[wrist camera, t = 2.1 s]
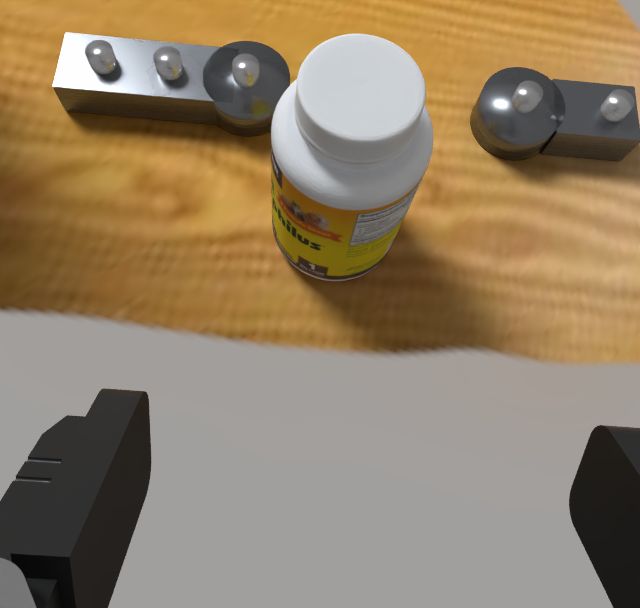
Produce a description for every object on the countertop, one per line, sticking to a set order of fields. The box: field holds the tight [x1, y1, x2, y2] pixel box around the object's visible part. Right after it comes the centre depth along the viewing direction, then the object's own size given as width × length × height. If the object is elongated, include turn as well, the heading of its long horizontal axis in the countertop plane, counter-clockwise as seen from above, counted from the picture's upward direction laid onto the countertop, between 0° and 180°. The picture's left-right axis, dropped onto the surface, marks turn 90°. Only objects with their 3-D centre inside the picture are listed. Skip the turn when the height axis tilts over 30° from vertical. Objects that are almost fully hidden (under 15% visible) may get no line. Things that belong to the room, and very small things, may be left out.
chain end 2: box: [470, 67, 640, 161], centre depth 29 cm, size 8×4×3 cm, turn 86°
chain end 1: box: [53, 32, 290, 136], centre depth 29 cm, size 10×4×3 cm, turn 86°
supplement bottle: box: [271, 34, 433, 281], centre depth 23 cm, size 6×6×10 cm
